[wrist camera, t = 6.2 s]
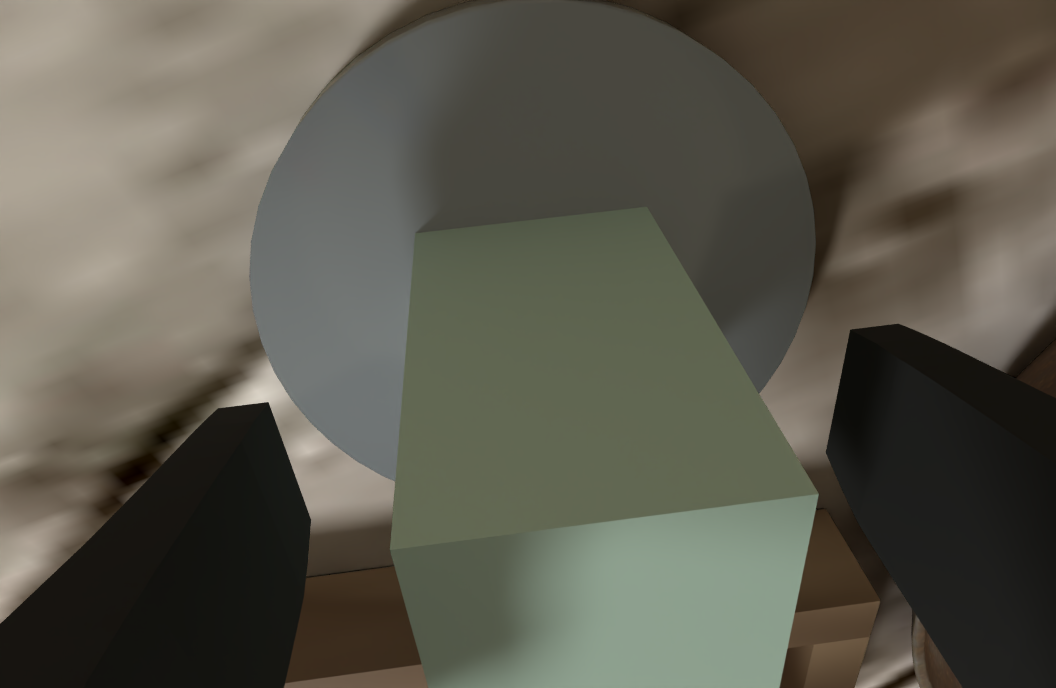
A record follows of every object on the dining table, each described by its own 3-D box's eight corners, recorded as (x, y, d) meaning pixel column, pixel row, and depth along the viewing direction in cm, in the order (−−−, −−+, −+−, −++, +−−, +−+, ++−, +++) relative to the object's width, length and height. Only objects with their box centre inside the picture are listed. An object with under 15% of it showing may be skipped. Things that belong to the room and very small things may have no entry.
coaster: (763, 441, 15) (782, 474, 14) (334, 496, 15) (328, 533, 14) (826, -40, 10) (860, -32, 9) (181, 28, 10) (157, 43, 9)
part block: (644, 390, 13) (772, 723, 8) (447, 415, 13) (451, 769, 8) (647, 206, 11) (818, 493, 6) (415, 232, 11) (390, 549, 6)
